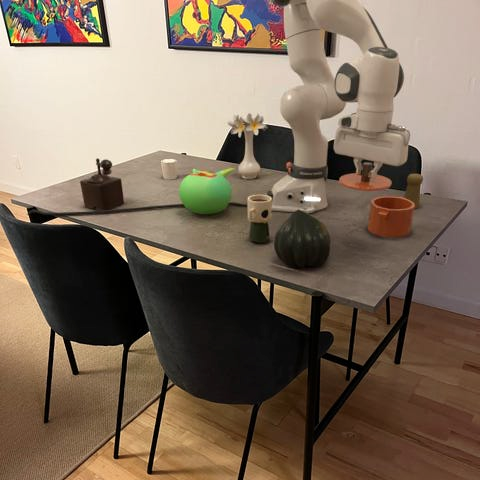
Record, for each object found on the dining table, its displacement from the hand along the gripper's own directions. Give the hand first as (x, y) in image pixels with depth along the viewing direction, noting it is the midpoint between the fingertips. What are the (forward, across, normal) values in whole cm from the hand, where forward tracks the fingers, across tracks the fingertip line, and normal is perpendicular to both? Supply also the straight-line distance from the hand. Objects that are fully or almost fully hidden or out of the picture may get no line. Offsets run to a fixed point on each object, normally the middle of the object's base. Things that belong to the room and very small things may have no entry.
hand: (365, 176), depth 129 cm
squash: (+21, +5, +19) cm, 29 cm away
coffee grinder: (+22, +84, +30) cm, 92 cm away
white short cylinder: (+22, +97, -8) cm, 100 cm away
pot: (+21, -1, -17) cm, 27 cm away
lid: (+2, 0, 0) cm, 2 cm away
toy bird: (+22, +54, +9) cm, 59 cm away
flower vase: (+22, +73, -31) cm, 82 cm away
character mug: (+21, +24, +15) cm, 36 cm away
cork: (+21, +6, -43) cm, 48 cm away
